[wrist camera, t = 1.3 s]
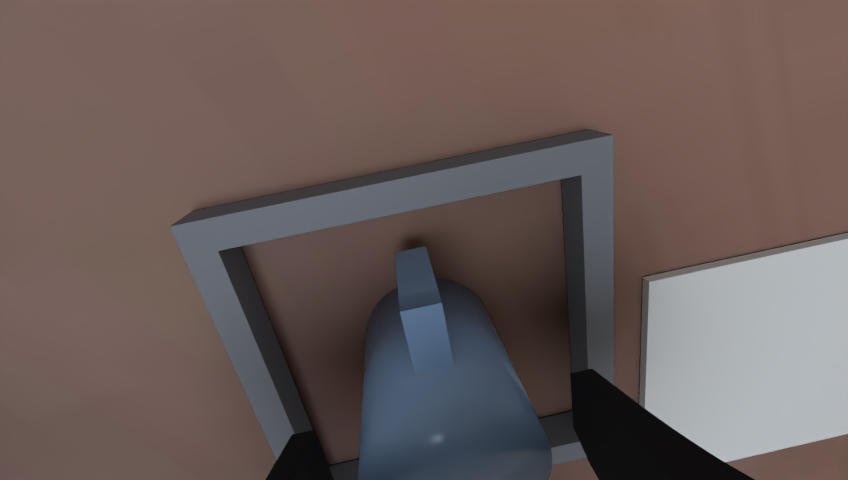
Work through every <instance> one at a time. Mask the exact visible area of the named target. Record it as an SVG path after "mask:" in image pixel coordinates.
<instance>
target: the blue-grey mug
mask: <svg viewBox="0 0 848 480" xmlns="http://www.w3.org/2000/svg"><path fill="white" fill-rule="evenodd" d="M395 264H396V275H397V286H398V287H397V288H395V289H393V290H392V291H391V292H389V293H388V294H387V295H386V296H384V297H383V298H382V299H381V300H380V301H379V303H378V304H377V305H376V306H375V308H374V310H373V311H372V313H371V315H370V318H369V320H368V324H367V329H366V342H365V360H364V378H363V396H362V414H361V432H360V450H359V468H358V480H548V479H549V476H550V473H551V468H552V451H551V446H550V443H549V441H548V438H547V436H546V434H545V432H544V429H543V427H542V425H541V423H540V421H539V419H538V417H537V415H536V413H535V411H534V408H533V406H532V404H531V402H530V400H529V398H528V396H527V394H526V392H525V390H524V387H523V385H522V383H521V381H520V379H519V377H518V375H517V373H516V371H515V369H514V366H513V364H512V362H511V360H510V358H509V356H508V354H507V352H506V350H505V347H504V345H503V343H502V341H501V339H500V337H499V335H498V333H497V331H496V329H495V326H494V324H493V322H492V320H491V318H490V316H489V314H488V312H487V310H486V308H485V306H484V304H483V302H482V301H481V300H480V299H479V297H478V296H477V295H476V294H475V293H474V292H472V291H471V290H470V289H468V288H467V287H465V286H463V285H461V284H459V283H456V282H453V281H450V280H446V279H438V278H435V277H434V273H433V270H432V266H431V263H430V259H429V256H428V252H427V249H426V246H424V247H419V248H414V249H410V250H405V251H400V252H395Z"/></svg>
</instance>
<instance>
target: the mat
mask: <svg viewBox="0 0 848 480" xmlns="http://www.w3.org/2000/svg"><path fill="white" fill-rule="evenodd" d="M639 405H641V406H642V407H643V408H645V409H646V410H647V411H649V412H650V413H652V414H653V415H654V416H656V417H657V418H659V419H660V420H662V421H663V422H664V423H666V424H667V425H669V426H670V427H671V428H673V429H674V430H676V431H677V432H679V433H680V434H682V435H683V436H685V437H686V438H687V439H689V440H691V441H692V442H694V443H695V444H697V445H698V446H700V447H701V448H703V449H704V450H706V451H707V452H709V453H711V454H712V455H714V456H715V457H717V458H719V459H720V460H722V461H723V462H728V461H732V460H737V459H741V458H745V457H750V456H754V455H758V454H763V453H767V452H771V451H776V450H780V449H784V448H788V447H793V446H797V445H801V444H806V443H810V442H814V441H819V440H823V439H827V438H832V437H836V436H840V435H844V434H848V233H844V234H839V235H834V236H830V237H825V238H821V239H816V240H811V241H807V242H802V243H798V244H793V245H788V246H784V247H779V248H775V249H770V250H765V251H761V252H756V253H752V254H747V255H742V256H738V257H733V258H729V259H724V260H719V261H715V262H710V263H706V264H701V265H697V266H692V267H687V268H683V269H678V270H674V271H669V272H664V273H660V274H655V275H651V276H646V277H643V289H642V323H641V358H640V393H639Z"/></svg>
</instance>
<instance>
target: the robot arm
mask: <svg viewBox="0 0 848 480" xmlns="http://www.w3.org/2000/svg"><path fill="white" fill-rule="evenodd" d="M571 392H572V411H573V428H574V430H575V432H576V434H577V437H578V439H579V441H580V443H581V446H582V448H583V450H584V452H585V454H586V456H587V458H588V461H589V463H590V465H591V467H592V468H593V470H594V472H595V473H596V475H597V477H598V479H599V480H754V479H752V478H751V477H749V476H747V475H745V474H744V473H742V472H740V471H738V470H737V469H735V468H733V467H732V466H730V465H728V464H727V463H725V462H723V461H722V460H720V459H719V458H717V457H715V456H714V455H712V454H711V453H709V452H707V451H706V450H704V449H703V448H701V447H700V446H698V445H697V444H695V443H694V442H692V441H691V440H689V439H687V438H686V437H685V436H683V435H682V434H680V433H679V432H677V431H676V430H674V429H673V428H671V427H670V426H669V425H667V424H666V423H664V422H663V421H662V420H660V419H659V418H657V417H656V416H654V415H653V414H652V413H650V412H649V411H647V410H646V409H645V408H643V407H642V406H641V405H639V404H638V403H637V402H635V401H634V400H633V399H631V398H630V397H629V396H627V395H626V394H625V393H623V392H622V391H621V390H620V389H618V388H617V387H616V386H614V385H613V384H612V383H611V382H609V381H608V380H607V379H605V378H604V377H603V376H601V375H600V374H599V373H598V372H596V371H595V370H593V369H587V370H583V371H578V372H574V373H571ZM266 480H334V479H333V476H332V474H331V471H330V469H329V466H328V464H327V461H326V458H325V456H324V453H323V451H322V448H321V446H320V443H319V441H318V438H317V436H316V433H315V431H314V430H311V431H306V432H302V433H297V434H292V436H291V437H290V438H289V440H288V442H287V443H286V445H285V447H284V449H283V450H282V452H281V454H280V456H279V457H278V459H277V461H276V463H275V464H274V466H273V468H272V470H271V471H270V473H269V475H268V476H267V478H266Z"/></svg>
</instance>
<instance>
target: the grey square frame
mask: <svg viewBox="0 0 848 480" xmlns="http://www.w3.org/2000/svg"><path fill="white" fill-rule="evenodd" d="M560 179H561V185H562V204H563V222H564V241H565V259H566V278H567V297H568V315H569V334H570V352H571V371H572V373H574V372H578V371H583V370H587V369H593V370H595V371H596V372H598V373H599V374H600V375H601V376H603V377H604V378H605V379H607V380H608V381H609V382H611V383H612V384H613V385H614V135H612V134H608V133H603V132H598V131H594V130H589V129H588V130H583V131H578V132H574V133H569V134H564V135H559V136H554V137H549V138H544V139H540V140H535V141H530V142H525V143H520V144H515V145H510V146H506V147H501V148H496V149H491V150H486V151H481V152H477V153H472V154H467V155H462V156H457V157H452V158H447V159H443V160H438V161H433V162H428V163H423V164H418V165H413V166H409V167H404V168H399V169H394V170H389V171H384V172H379V173H375V174H370V175H365V176H360V177H355V178H350V179H345V180H341V181H336V182H331V183H326V184H321V185H316V186H311V187H307V188H302V189H297V190H292V191H287V192H282V193H277V194H273V195H268V196H263V197H258V198H253V199H248V200H243V201H239V202H234V203H229V204H224V205H219V206H214V207H210V208H205V209H200V210H195V211H192V212H190V213H189V214H187V215H186V216H185V217H183V218H182V219H180V220H179V221H177V222H176V223H174V224H173V225H171V226H170V229H171V231H172V233H173V235H174V237H175V240H176V242H177V244H178V246H179V248H180V250H181V253H182V255H183V257H184V259H185V261H186V264H187V266H188V268H189V270H190V272H191V274H192V277H193V279H194V281H195V283H196V285H197V288H198V290H199V292H200V294H201V296H202V298H203V301H204V303H205V305H206V307H207V309H208V312H209V314H210V316H211V318H212V320H213V322H214V325H215V327H216V329H217V331H218V333H219V336H220V338H221V340H222V342H223V344H224V347H225V349H226V351H227V353H228V355H229V357H230V360H231V362H232V364H233V366H234V368H235V371H236V373H237V375H238V377H239V379H240V381H241V384H242V386H243V388H244V390H245V392H246V395H247V397H248V399H249V401H250V403H251V405H252V408H253V410H254V412H255V414H256V416H257V419H258V421H259V423H260V425H261V427H262V429H263V432H264V434H265V436H266V438H267V440H268V443H269V445H270V447H271V449H272V451H273V453H274V456H275V458H276V460H277V459H278V457H279V456H280V454H281V452H282V450H283V449H284V447H285V445H286V443H287V442H288V440H289V438H290V437H291V436H292V434H297V433H302V432H306V431H311V430H312V427H311V424H310V422H309V419H308V417H307V414H306V412H305V409H304V407H303V404H302V402H301V399H300V396H299V394H298V391H297V389H296V386H295V384H294V381H293V379H292V376H291V374H290V371H289V368H288V366H287V363H286V361H285V358H284V356H283V353H282V351H281V348H280V346H279V343H278V341H277V338H276V335H275V333H274V330H273V328H272V325H271V323H270V320H269V318H268V315H267V313H266V310H265V307H264V305H263V302H262V300H261V297H260V295H259V292H258V290H257V287H256V285H255V282H254V279H253V277H252V274H251V272H250V269H249V267H248V264H247V262H246V259H245V257H244V254H243V252H242V249H241V246H244V245H249V244H254V243H259V242H264V241H268V240H273V239H278V238H283V237H287V236H292V235H297V234H302V233H307V232H311V231H316V230H321V229H326V228H330V227H335V226H340V225H345V224H350V223H354V222H359V221H364V220H369V219H373V218H378V217H383V216H388V215H393V214H397V213H402V212H407V211H412V210H417V209H421V208H426V207H431V206H436V205H440V204H445V203H450V202H455V201H460V200H464V199H469V198H474V197H479V196H483V195H488V194H493V193H498V192H503V191H507V190H512V189H517V188H522V187H526V186H531V185H536V184H541V183H546V182H550V181H555V180H560ZM539 421H540V423H541V425H542V427H543V429H544V432H545V434H546V436H547V438H548V441H549V443H550V446H551V451H552V465H556V464H560V463H565V462H569V461H573V460H578V459H582V458H587V456H586V454H585V452H584V450H583V448H582V446H581V443H580V441H579V439H578V437H577V434H576V432H575V430H574V428H573V411H571V412H566V413H562V414H557V415H553V416H549V417H544V418H540V419H539ZM358 468H359V459H358V460H354V461H349V462H345V463H341V464H336V465H332V466H329V469H330V471H331V474H332V476H333V479H334V480H358Z"/></svg>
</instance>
